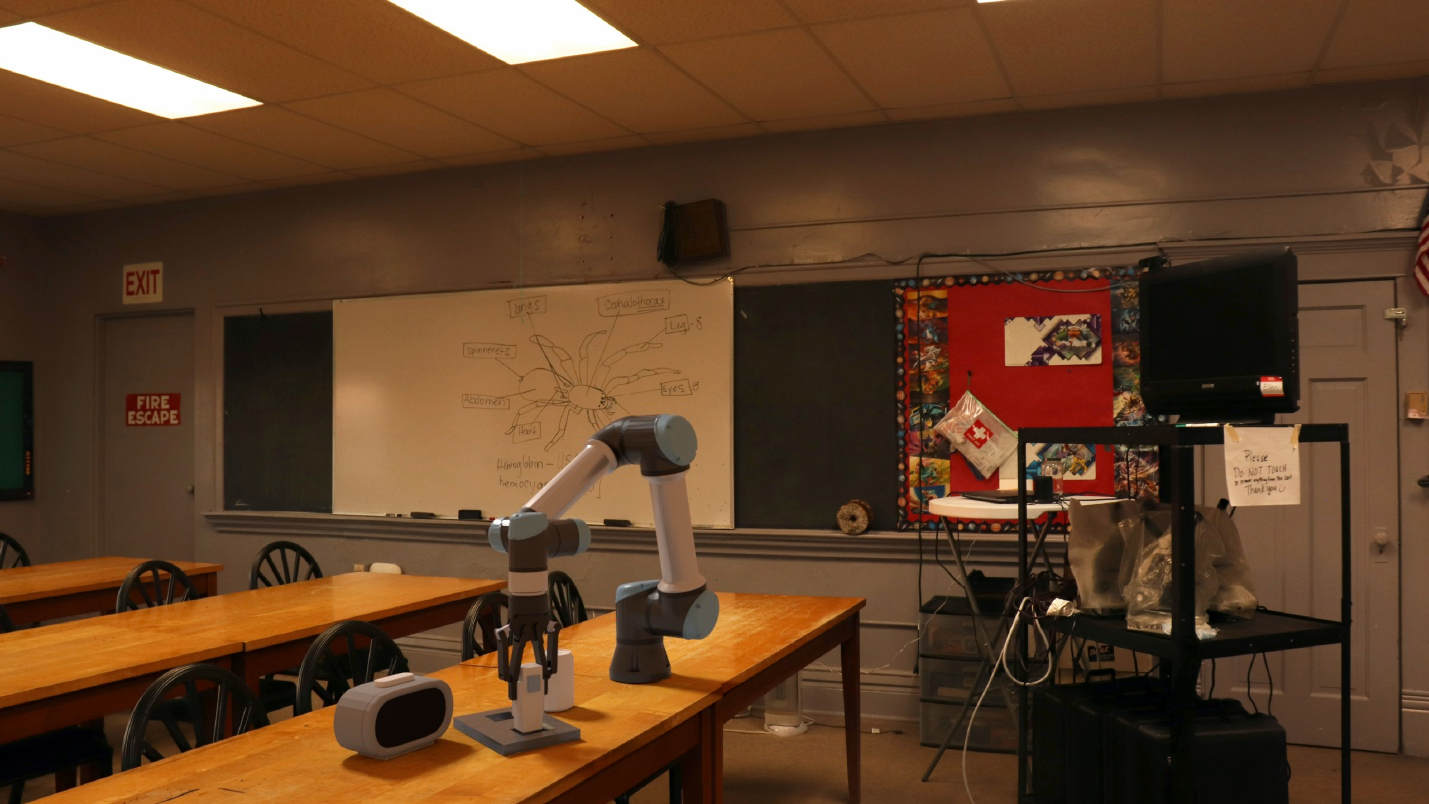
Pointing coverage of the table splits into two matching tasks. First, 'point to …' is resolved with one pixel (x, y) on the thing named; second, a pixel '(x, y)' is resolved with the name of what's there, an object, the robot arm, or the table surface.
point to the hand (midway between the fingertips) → (528, 714)
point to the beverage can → (561, 684)
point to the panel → (514, 731)
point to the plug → (530, 698)
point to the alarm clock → (393, 715)
